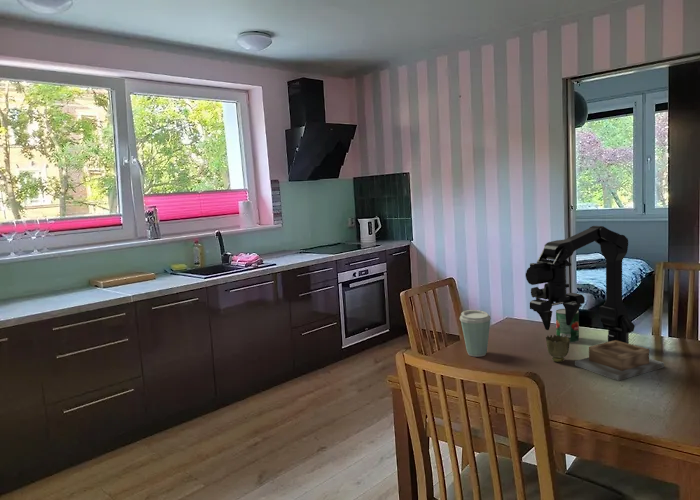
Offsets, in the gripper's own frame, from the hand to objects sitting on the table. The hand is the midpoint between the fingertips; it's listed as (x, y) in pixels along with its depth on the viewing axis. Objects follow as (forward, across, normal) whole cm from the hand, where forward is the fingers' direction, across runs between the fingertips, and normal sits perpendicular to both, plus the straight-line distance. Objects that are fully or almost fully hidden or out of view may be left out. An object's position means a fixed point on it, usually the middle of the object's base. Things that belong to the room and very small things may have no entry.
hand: (557, 327), depth 175 cm
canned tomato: (+12, -20, -15) cm, 28 cm away
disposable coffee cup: (+12, +17, -21) cm, 29 cm away
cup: (+12, 0, 0) cm, 12 cm away
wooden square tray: (+11, -11, +14) cm, 21 cm away
